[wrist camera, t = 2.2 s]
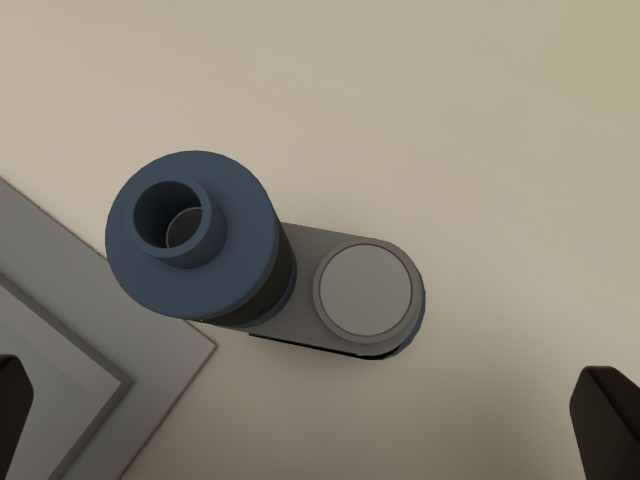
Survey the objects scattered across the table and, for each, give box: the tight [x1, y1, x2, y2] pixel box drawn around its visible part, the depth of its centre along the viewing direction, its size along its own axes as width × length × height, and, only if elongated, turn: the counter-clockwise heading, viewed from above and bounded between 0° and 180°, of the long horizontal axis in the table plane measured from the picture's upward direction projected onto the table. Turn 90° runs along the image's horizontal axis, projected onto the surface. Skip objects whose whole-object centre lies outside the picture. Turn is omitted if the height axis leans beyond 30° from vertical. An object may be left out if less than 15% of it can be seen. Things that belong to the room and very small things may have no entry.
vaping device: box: [105, 150, 426, 360], centre depth 12 cm, size 3×5×12 cm, turn 79°
